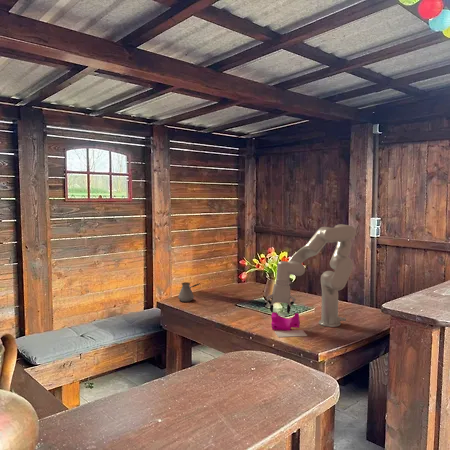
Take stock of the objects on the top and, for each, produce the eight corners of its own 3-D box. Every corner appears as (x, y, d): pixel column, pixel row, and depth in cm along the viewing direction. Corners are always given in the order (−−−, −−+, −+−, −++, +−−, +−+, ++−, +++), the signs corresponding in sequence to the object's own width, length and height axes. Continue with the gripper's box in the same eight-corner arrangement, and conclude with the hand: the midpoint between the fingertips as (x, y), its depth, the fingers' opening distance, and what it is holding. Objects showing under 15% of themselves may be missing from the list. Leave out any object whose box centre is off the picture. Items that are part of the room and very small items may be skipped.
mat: (302, 330, 226) (302, 329, 226) (307, 336, 217) (307, 335, 217) (274, 331, 224) (274, 331, 224) (278, 337, 215) (278, 336, 215)
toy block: (272, 329, 228) (270, 320, 224) (274, 321, 233) (272, 312, 229) (298, 331, 223) (297, 321, 220) (299, 322, 228) (298, 313, 225)
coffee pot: (174, 300, 293) (174, 280, 292) (187, 297, 301) (186, 278, 300) (194, 306, 278) (194, 284, 277) (206, 302, 286) (206, 282, 285)
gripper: (295, 282, 235) (292, 311, 236) (266, 280, 233) (263, 309, 234) (298, 285, 227) (296, 314, 228) (269, 283, 226) (266, 313, 226)
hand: (279, 312), depth 231 cm, fingers open, 9 cm apart
